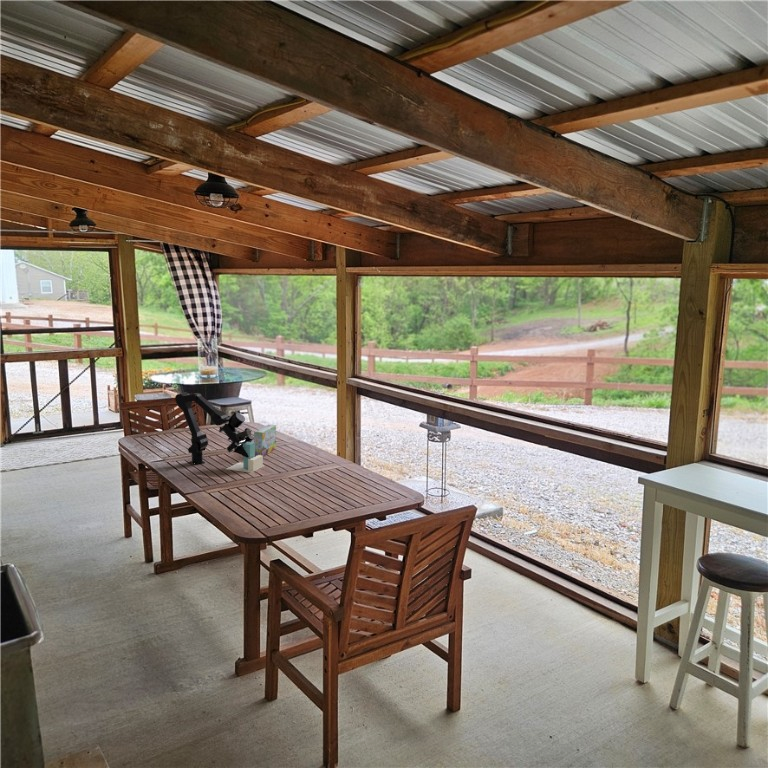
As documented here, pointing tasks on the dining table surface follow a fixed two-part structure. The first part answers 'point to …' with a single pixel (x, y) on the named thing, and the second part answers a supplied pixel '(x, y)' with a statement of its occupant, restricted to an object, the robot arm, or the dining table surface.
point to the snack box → (265, 440)
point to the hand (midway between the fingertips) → (250, 455)
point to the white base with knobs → (249, 464)
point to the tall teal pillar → (248, 452)
